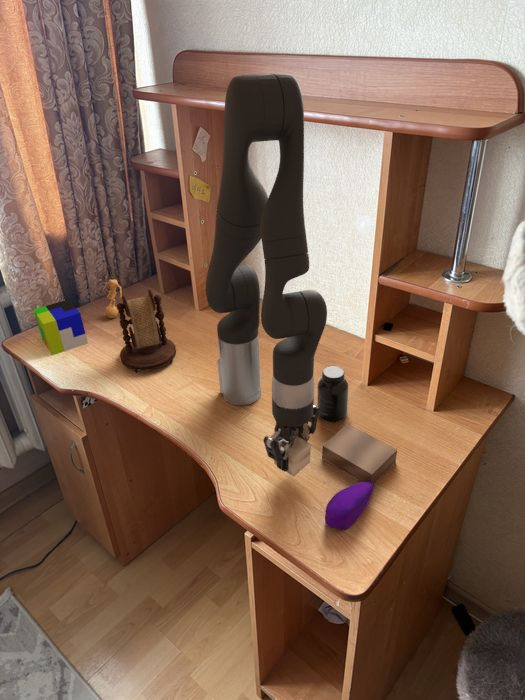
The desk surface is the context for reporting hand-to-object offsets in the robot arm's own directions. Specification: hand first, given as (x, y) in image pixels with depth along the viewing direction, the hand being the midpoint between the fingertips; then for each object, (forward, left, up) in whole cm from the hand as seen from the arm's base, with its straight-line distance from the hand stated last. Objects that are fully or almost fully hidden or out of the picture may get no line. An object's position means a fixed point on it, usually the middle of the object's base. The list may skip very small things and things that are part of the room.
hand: (292, 460), depth 106 cm
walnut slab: (+7, +12, -5) cm, 15 cm away
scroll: (-56, +8, -5) cm, 57 cm away
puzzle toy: (-82, -2, -5) cm, 83 cm away
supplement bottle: (-5, +21, -5) cm, 22 cm away
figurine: (-83, +16, -5) cm, 85 cm away
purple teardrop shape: (+14, +1, -5) cm, 14 cm away
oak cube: (0, 0, -1) cm, 1 cm away
